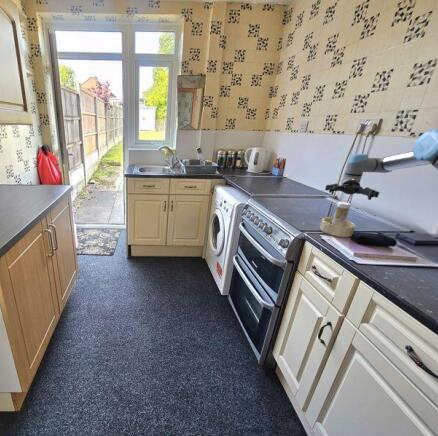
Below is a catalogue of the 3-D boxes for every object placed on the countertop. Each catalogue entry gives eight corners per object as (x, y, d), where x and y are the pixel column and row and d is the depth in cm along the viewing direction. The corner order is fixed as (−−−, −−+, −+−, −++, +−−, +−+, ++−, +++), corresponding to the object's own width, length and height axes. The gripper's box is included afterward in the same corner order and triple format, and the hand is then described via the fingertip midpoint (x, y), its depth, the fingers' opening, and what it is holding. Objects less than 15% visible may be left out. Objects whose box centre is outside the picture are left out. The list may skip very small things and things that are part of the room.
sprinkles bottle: (334, 233, 110) (344, 204, 105) (327, 229, 114) (335, 201, 109) (344, 232, 110) (353, 204, 105) (336, 228, 115) (345, 201, 110)
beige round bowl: (348, 230, 115) (352, 220, 113) (354, 240, 105) (358, 229, 103) (317, 225, 120) (320, 215, 118) (321, 234, 110) (324, 224, 108)
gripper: (379, 197, 122) (384, 207, 106) (320, 189, 136) (316, 197, 120) (385, 182, 120) (391, 190, 104) (323, 175, 134) (320, 182, 118)
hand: (351, 194), depth 112 cm, fingers open, 13 cm apart
